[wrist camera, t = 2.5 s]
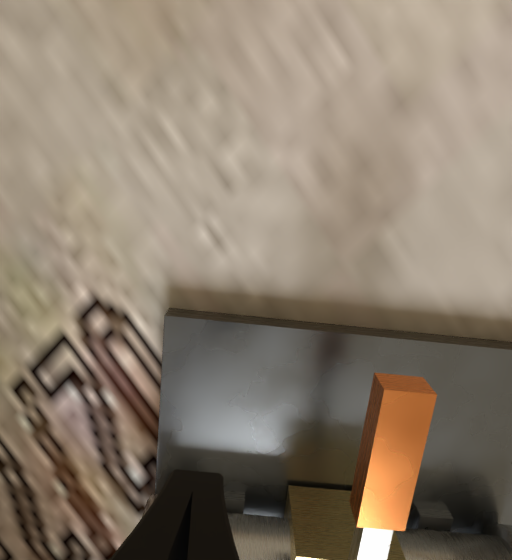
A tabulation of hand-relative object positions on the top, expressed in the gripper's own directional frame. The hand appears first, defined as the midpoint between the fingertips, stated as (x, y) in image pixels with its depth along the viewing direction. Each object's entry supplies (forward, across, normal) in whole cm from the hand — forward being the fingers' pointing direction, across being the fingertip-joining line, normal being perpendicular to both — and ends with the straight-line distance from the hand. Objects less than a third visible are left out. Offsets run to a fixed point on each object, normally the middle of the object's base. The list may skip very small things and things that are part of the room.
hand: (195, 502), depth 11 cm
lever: (+3, -6, +3) cm, 7 cm away
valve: (+9, -8, +7) cm, 13 cm away
